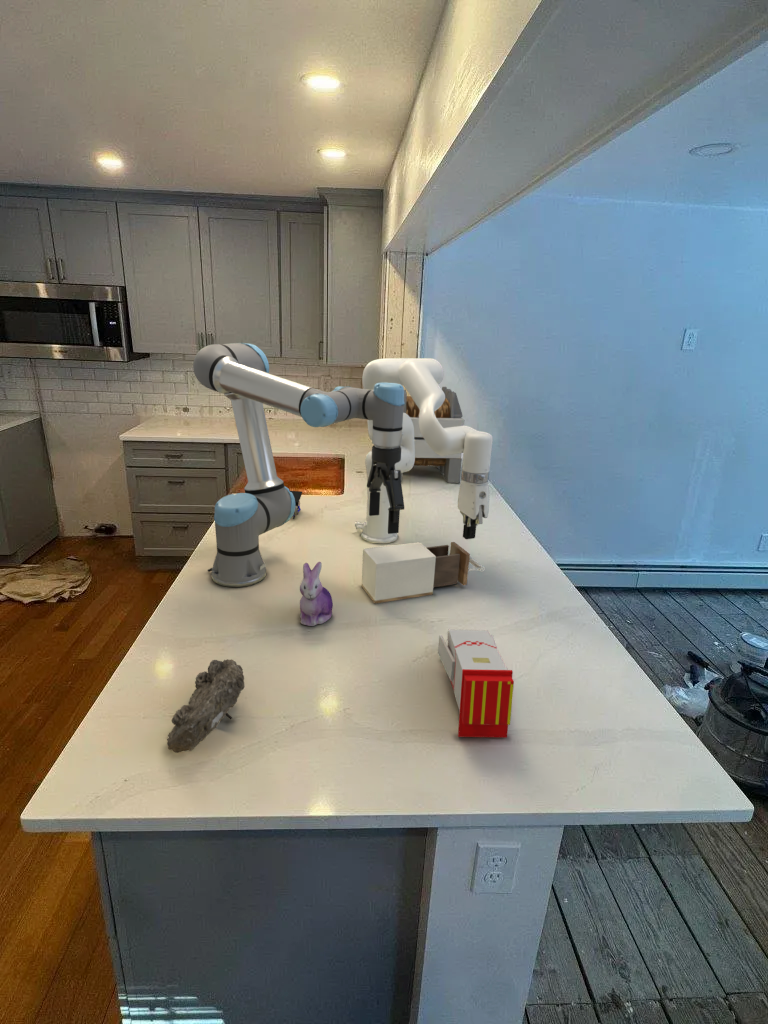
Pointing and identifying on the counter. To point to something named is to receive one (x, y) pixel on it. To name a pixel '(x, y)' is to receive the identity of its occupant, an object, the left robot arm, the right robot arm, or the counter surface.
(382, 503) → the right robot arm
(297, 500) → the figurine character
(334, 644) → the counter surface
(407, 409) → the transformer
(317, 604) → the figurine
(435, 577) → the drawer
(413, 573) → the cabinet
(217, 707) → the fossil
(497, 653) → the toy
